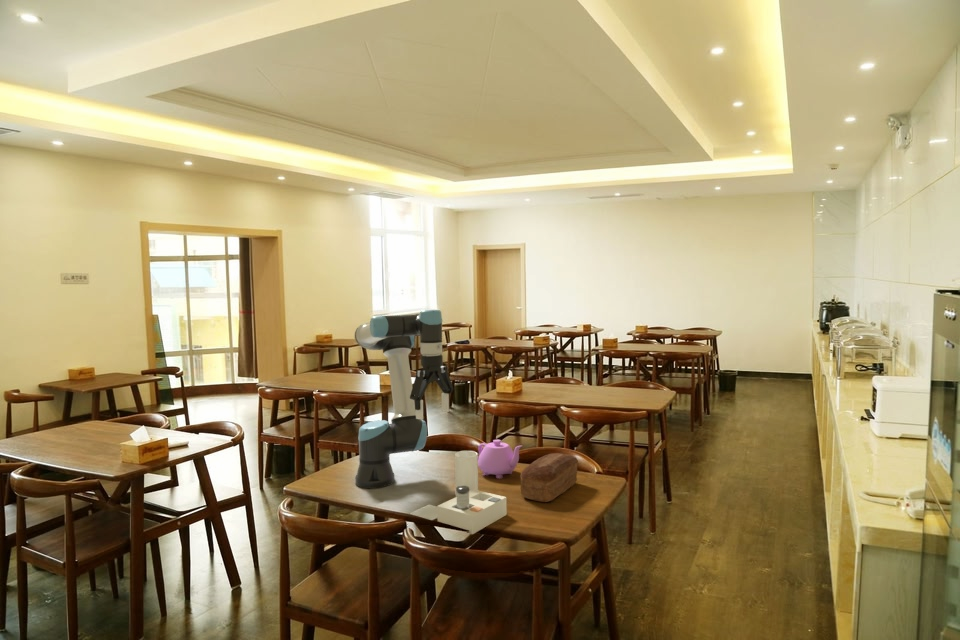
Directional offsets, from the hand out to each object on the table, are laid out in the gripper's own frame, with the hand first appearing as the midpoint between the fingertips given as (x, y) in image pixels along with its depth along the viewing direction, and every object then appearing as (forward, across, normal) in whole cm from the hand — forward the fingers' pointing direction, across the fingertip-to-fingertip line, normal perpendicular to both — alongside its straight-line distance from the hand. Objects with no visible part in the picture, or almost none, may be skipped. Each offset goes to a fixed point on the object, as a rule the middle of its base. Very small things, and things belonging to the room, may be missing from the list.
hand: (432, 415), depth 211 cm
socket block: (+32, -3, -19) cm, 37 cm away
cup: (+32, +12, -5) cm, 34 cm away
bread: (+32, +35, -26) cm, 54 cm away
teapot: (+32, +40, 0) cm, 51 cm away
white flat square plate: (+32, -8, -5) cm, 33 cm away
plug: (+32, -8, -19) cm, 38 cm away
